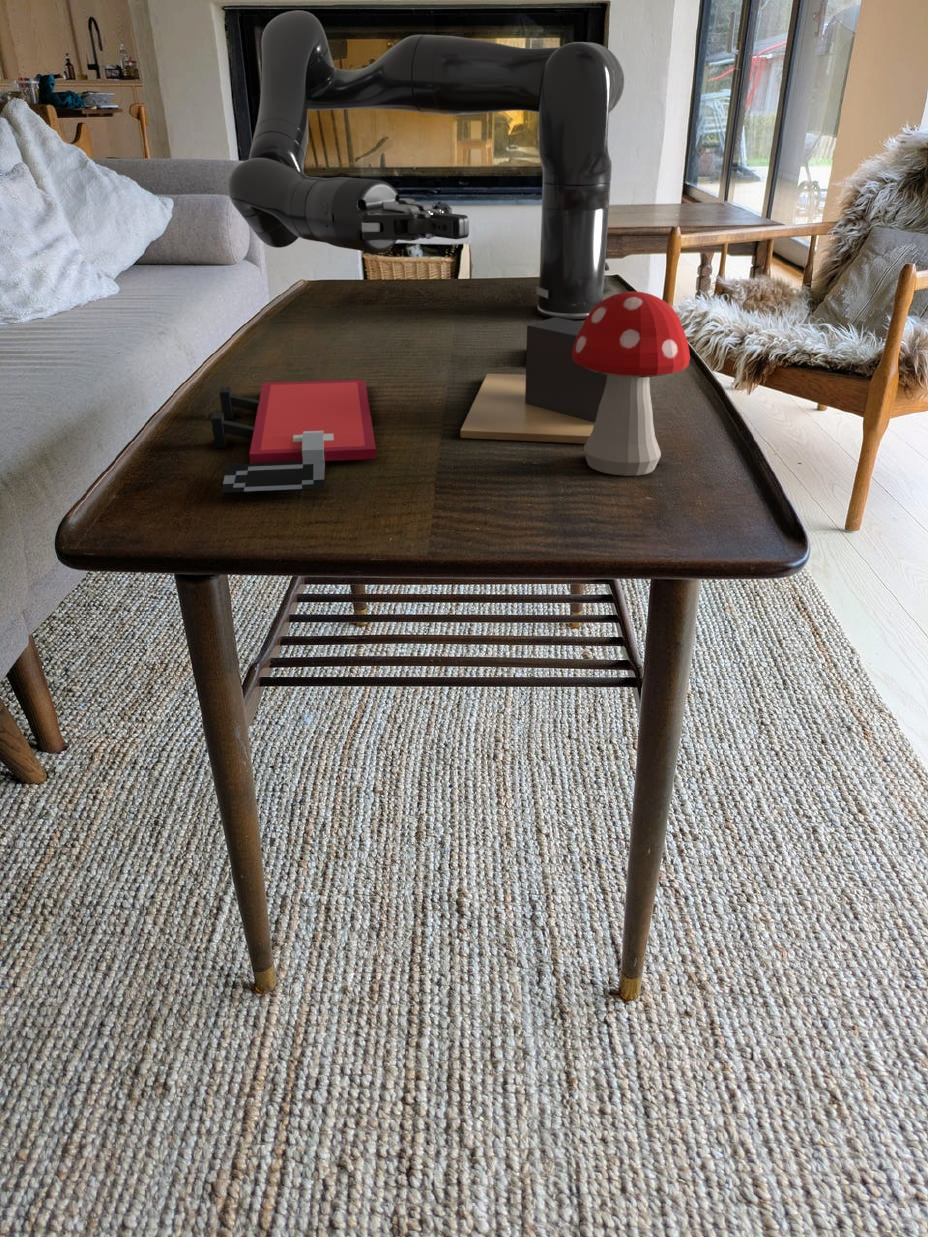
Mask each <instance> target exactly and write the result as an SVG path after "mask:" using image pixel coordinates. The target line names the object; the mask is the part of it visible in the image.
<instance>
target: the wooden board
mask: <svg viewBox="0 0 928 1237" xmlns="http://www.w3.org/2000/svg"><path fill="white" fill-rule="evenodd" d="M525 388H526V374H506V373H486V375H485V377H484V380H482V384H481V386H480V387H479V389H478V392H477V394H476V396H475V399H474V400H473V402H472V405H471V407H470V409H469V412H468V414H467V415H466V418H465V419H464V422H463V424H462V426H461V428H460V429H459V430H460V431H459V432H460V438H461V439H478V440H498V441H500V440H501V441H519V442H521V441H522V442H541V443H544V442H545V443H561V444H562V443H563V444H584V445H585V444H586V442H587V440H588V438H589V437H590V435H591V433H592V430H593V427H594V424H595V423H594V422H591V421H587V420H584V419H580V418H576V417H573V416H569V415H565V414H562V413H558V412H555V411H551V410H547V409H544V408H540V407H536V406H533V405H529V404H526V403H525Z"/></svg>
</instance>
